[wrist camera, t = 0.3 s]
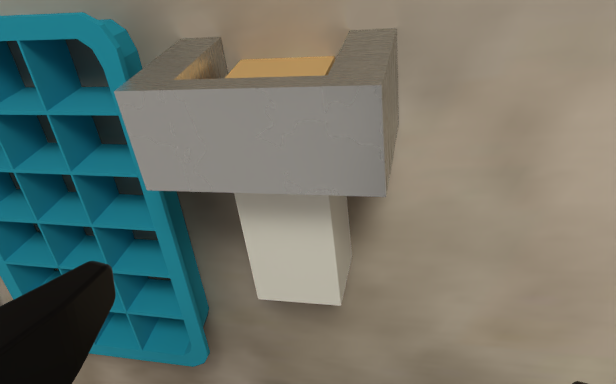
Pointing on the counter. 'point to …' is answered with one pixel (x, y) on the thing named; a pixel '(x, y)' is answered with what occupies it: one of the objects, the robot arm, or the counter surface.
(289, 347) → the counter surface
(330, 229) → the tan-tipped white bar
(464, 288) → the counter surface
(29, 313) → the robot arm
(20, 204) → the ice cube tray
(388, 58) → the gray rectangular block
